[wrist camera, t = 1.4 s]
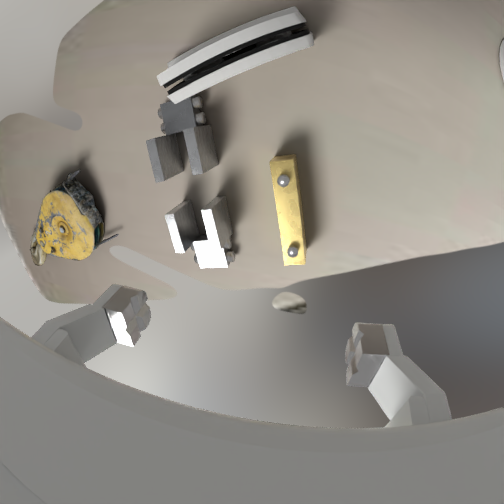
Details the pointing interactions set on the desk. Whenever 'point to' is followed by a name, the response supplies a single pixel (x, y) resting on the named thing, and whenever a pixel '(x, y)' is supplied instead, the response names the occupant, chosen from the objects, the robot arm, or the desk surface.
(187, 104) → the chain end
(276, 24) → the grey half-round block
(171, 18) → the desk surface
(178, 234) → the chain end
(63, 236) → the pulley block
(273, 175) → the brass block with peg
